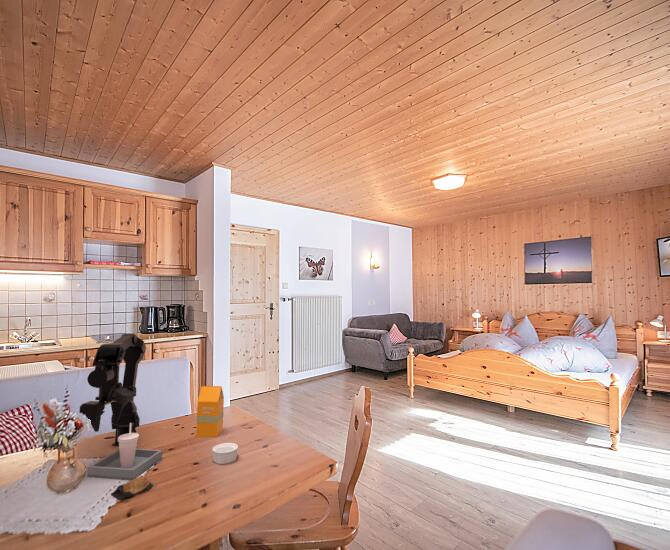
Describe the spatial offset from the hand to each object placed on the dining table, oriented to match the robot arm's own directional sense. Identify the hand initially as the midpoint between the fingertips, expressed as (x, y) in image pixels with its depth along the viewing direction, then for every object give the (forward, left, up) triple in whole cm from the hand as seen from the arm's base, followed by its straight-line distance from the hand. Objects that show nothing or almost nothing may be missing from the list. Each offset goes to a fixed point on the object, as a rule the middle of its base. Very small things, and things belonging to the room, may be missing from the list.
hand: (106, 426), depth 125 cm
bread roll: (+21, -13, -14) cm, 28 cm away
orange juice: (+21, +34, -13) cm, 42 cm away
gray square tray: (+8, 0, -13) cm, 15 cm away
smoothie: (+8, 0, -13) cm, 15 cm away
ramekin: (+38, +11, -13) cm, 42 cm away
